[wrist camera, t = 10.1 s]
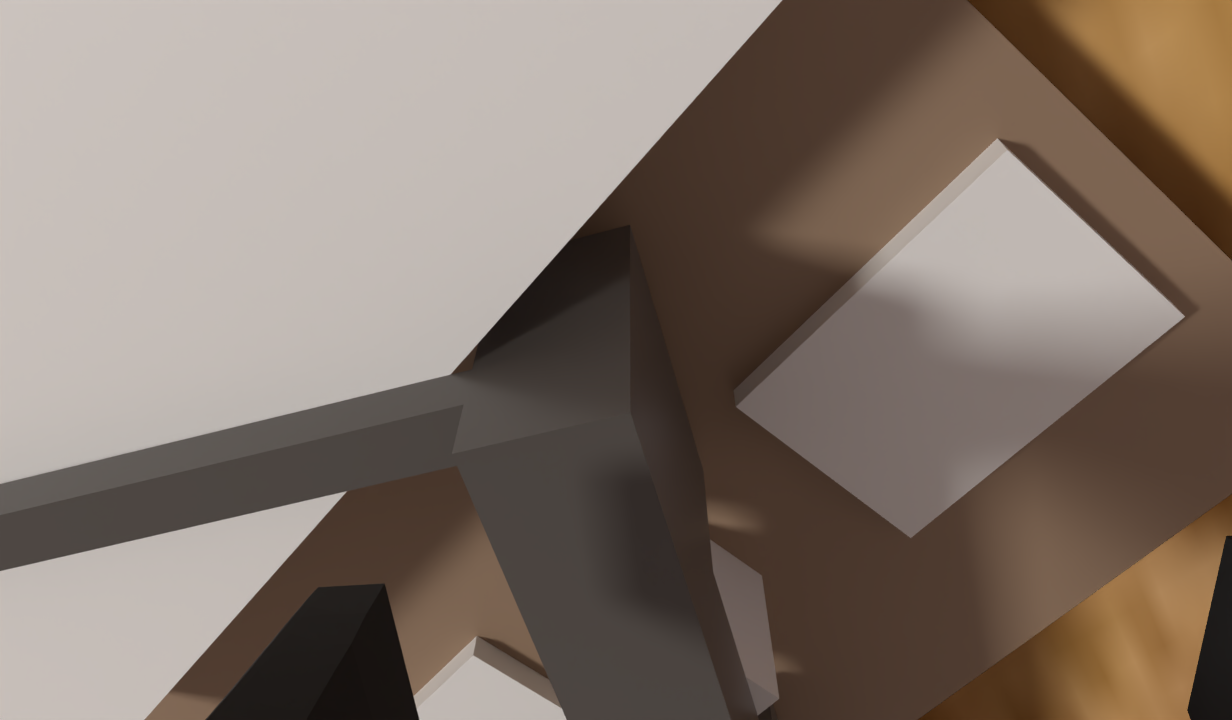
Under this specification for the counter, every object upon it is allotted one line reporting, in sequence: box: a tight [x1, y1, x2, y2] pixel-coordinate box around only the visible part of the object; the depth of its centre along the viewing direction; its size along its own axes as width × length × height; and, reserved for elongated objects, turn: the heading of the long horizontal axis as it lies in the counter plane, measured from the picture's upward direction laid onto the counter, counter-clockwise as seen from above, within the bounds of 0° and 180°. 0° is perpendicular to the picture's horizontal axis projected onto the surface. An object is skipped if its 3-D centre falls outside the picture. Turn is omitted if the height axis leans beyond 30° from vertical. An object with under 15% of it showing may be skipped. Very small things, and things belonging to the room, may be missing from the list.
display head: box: [0, 0, 1232, 720], centre depth 18 cm, size 20×20×5 cm
